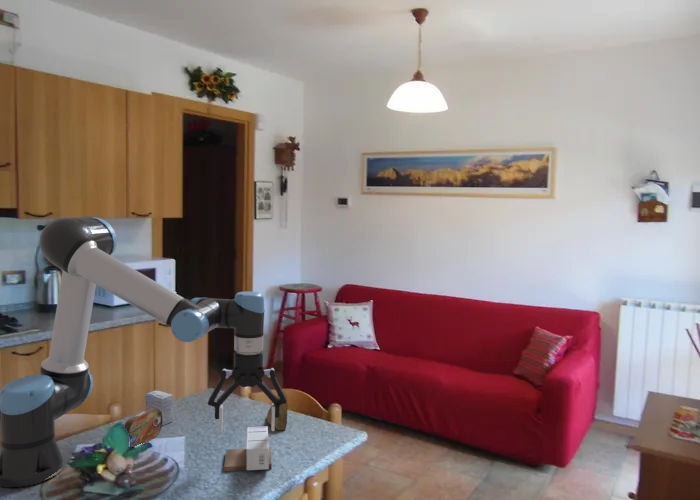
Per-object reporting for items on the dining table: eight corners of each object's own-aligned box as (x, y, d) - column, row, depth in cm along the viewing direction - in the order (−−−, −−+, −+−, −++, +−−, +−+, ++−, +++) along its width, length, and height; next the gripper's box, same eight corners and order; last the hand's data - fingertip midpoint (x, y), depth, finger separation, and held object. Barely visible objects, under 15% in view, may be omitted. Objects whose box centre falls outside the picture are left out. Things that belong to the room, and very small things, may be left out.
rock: (294, 424, 167) (300, 408, 177) (276, 403, 166) (283, 388, 175) (266, 443, 169) (273, 425, 179) (249, 421, 168) (257, 405, 178)
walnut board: (224, 471, 142) (224, 466, 142) (226, 453, 152) (226, 449, 152) (271, 468, 144) (271, 464, 144) (270, 451, 154) (270, 447, 154)
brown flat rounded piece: (129, 453, 151) (129, 423, 150) (120, 452, 152) (119, 422, 151) (163, 432, 165) (163, 404, 165) (154, 430, 166) (154, 403, 166)
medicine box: (173, 421, 174) (173, 394, 173) (162, 426, 170) (161, 398, 169) (157, 416, 178) (156, 389, 177) (145, 420, 174) (145, 393, 173)
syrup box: (268, 447, 140) (268, 425, 154) (245, 449, 139) (247, 426, 154) (269, 469, 141) (269, 445, 155) (245, 471, 140) (247, 446, 154)
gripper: (198, 355, 140) (196, 437, 141) (297, 354, 144) (295, 434, 145) (201, 347, 147) (200, 425, 149) (295, 347, 151) (293, 422, 153)
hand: (247, 429), depth 147 cm, fingers open, 13 cm apart
